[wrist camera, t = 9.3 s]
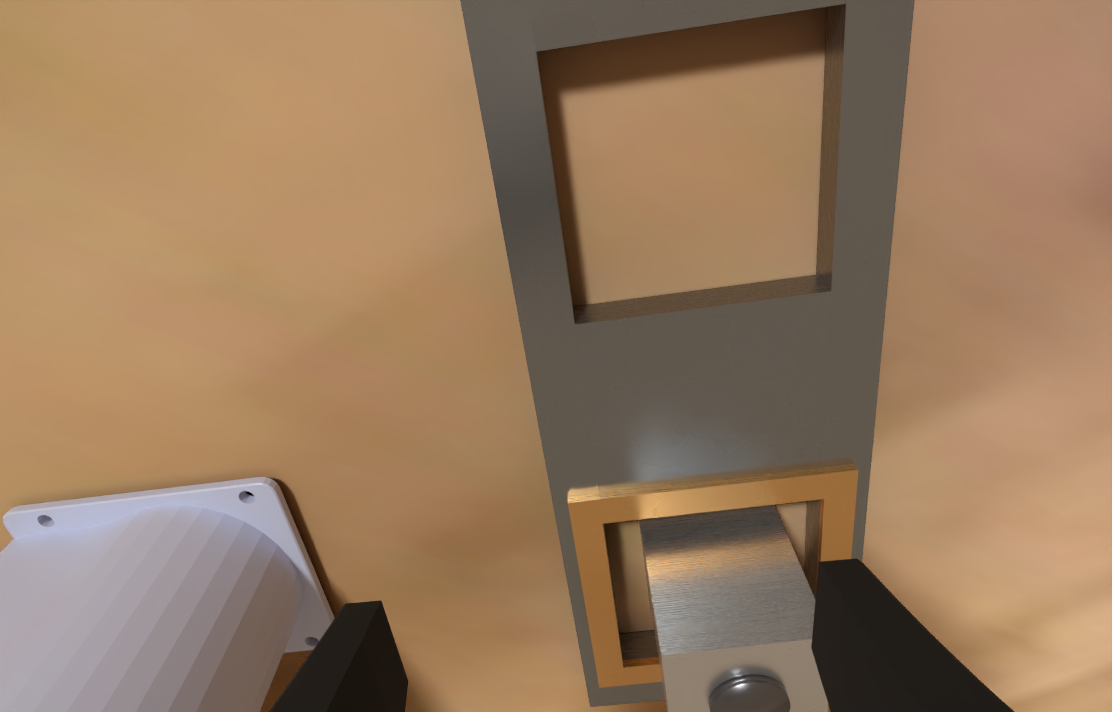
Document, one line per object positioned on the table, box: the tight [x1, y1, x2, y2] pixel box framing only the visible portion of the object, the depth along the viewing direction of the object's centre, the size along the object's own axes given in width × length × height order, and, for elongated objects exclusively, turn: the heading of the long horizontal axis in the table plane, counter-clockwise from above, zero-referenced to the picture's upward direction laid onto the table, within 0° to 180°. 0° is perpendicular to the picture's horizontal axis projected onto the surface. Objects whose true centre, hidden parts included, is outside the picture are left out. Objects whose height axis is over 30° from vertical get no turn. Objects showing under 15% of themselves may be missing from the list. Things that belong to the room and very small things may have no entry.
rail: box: [460, 0, 914, 707], centre depth 21 cm, size 10×26×2 cm, turn 8°
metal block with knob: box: [639, 505, 828, 712], centre depth 22 cm, size 4×4×6 cm
